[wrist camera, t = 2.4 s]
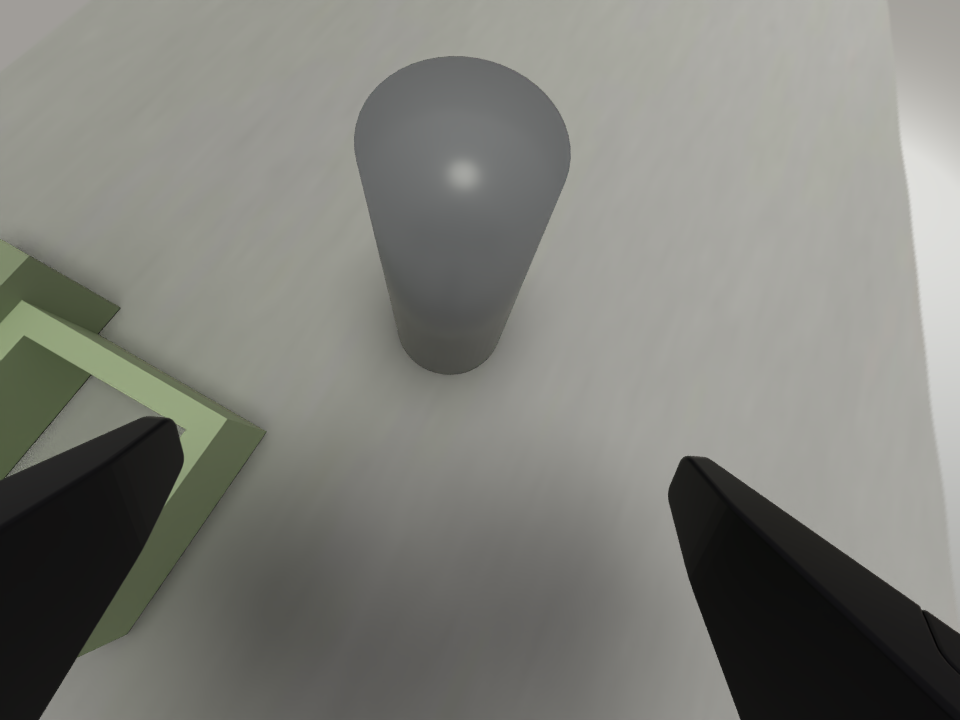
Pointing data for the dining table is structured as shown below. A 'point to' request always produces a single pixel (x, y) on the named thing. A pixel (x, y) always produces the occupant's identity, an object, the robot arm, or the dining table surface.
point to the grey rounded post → (458, 199)
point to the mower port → (81, 352)
